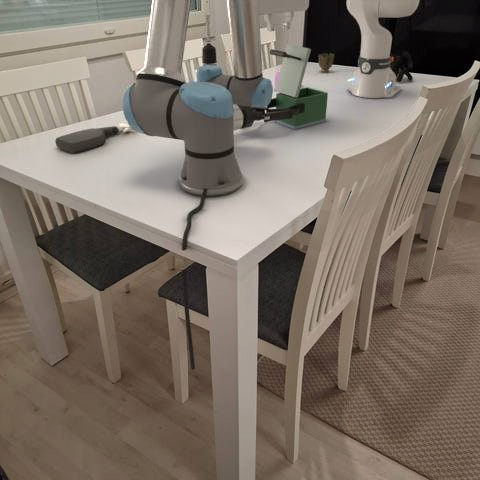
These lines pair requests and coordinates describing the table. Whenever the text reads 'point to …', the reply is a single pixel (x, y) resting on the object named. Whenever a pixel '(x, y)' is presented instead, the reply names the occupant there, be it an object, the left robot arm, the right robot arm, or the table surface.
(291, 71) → the lid
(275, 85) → the bracket
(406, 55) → the squiggle
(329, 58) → the cup
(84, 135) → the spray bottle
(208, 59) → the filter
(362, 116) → the table surface
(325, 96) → the chest
